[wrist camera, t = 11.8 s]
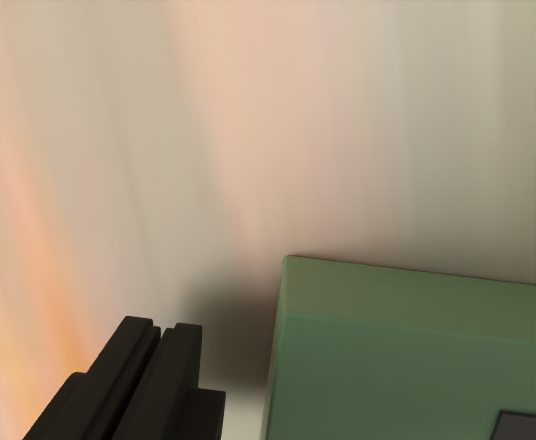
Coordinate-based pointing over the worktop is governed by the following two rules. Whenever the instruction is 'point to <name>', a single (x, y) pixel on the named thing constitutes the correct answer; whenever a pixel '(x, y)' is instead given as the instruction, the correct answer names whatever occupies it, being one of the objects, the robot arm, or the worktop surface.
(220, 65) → the worktop surface
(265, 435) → the sage letter tile
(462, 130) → the worktop surface
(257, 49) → the worktop surface
